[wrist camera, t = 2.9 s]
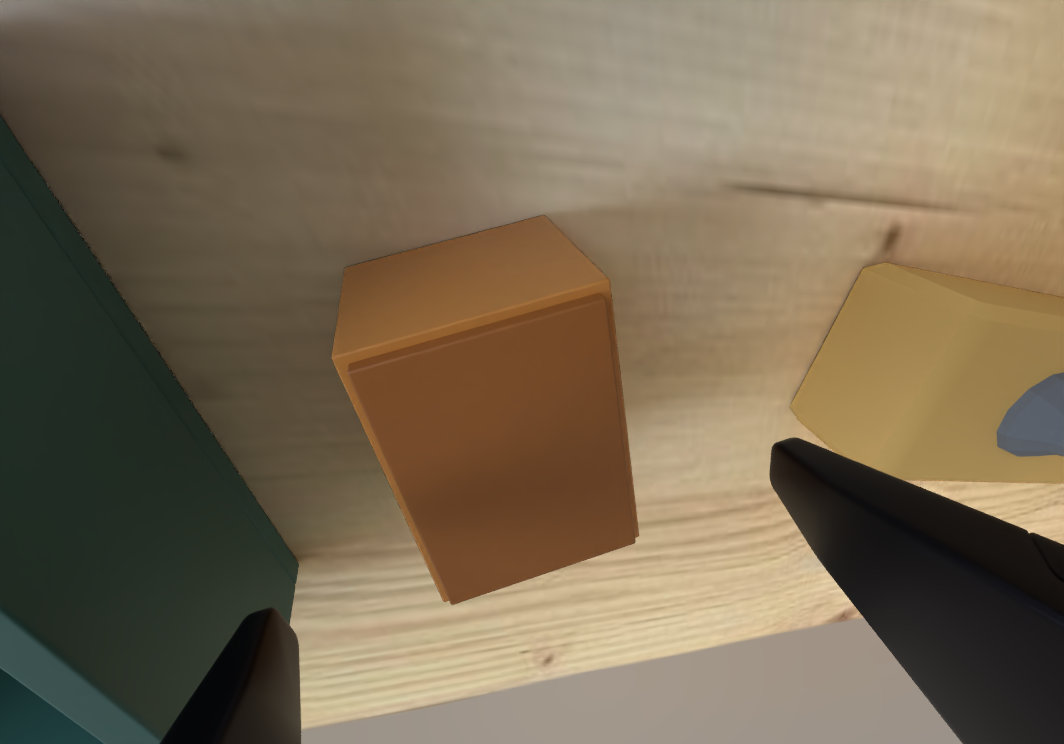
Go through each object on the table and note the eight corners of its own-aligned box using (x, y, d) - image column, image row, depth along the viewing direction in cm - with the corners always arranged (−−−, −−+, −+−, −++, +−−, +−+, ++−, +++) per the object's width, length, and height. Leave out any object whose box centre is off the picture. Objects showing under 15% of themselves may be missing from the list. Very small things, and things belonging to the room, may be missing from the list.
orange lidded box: (544, 214, 13) (617, 285, 9) (582, 430, 17) (644, 546, 13) (343, 267, 13) (328, 366, 9) (428, 478, 17) (444, 614, 13)
